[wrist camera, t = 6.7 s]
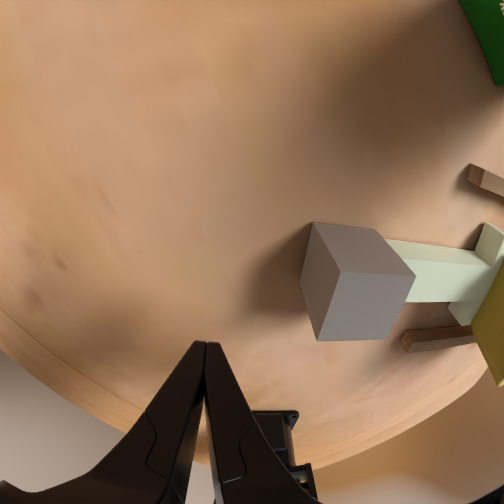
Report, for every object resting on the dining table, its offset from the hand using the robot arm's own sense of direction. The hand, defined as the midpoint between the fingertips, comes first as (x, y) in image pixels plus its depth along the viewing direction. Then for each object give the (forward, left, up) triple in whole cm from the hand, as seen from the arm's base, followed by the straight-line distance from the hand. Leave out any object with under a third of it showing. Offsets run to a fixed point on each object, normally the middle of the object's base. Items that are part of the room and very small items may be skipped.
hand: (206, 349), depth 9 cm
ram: (0, -13, -8) cm, 15 cm away
